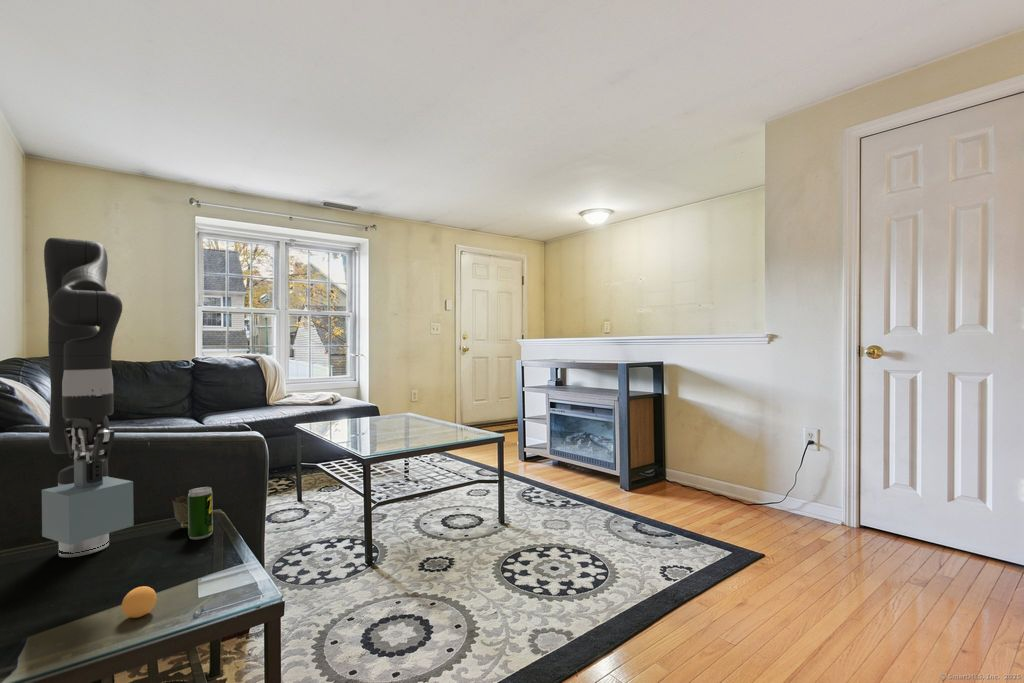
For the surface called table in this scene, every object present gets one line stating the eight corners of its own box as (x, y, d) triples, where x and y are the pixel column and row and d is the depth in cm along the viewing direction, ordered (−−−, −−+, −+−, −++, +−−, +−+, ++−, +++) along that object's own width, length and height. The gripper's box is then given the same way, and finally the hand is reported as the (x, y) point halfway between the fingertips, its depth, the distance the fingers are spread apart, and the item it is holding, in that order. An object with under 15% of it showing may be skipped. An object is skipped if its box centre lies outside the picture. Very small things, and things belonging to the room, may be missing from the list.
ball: (124, 629, 85) (112, 605, 86) (155, 613, 90) (143, 591, 91) (135, 613, 84) (122, 589, 85) (166, 598, 88) (153, 575, 90)
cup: (183, 522, 136) (182, 494, 136) (210, 521, 137) (210, 492, 137) (166, 532, 129) (166, 502, 129) (195, 531, 129) (195, 501, 129)
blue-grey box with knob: (42, 536, 92) (41, 463, 92) (106, 518, 101) (105, 452, 101) (69, 545, 87) (68, 468, 87) (133, 525, 96) (132, 456, 97)
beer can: (188, 541, 122) (187, 493, 122) (188, 535, 126) (187, 489, 126) (213, 536, 125) (212, 490, 125) (212, 530, 129) (212, 485, 129)
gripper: (46, 393, 94) (47, 482, 94) (83, 395, 88) (84, 490, 88) (92, 390, 101) (93, 472, 101) (130, 391, 95) (131, 479, 95)
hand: (89, 480), depth 94 cm, fingers closed on blue-grey box with knob, 3 cm apart
